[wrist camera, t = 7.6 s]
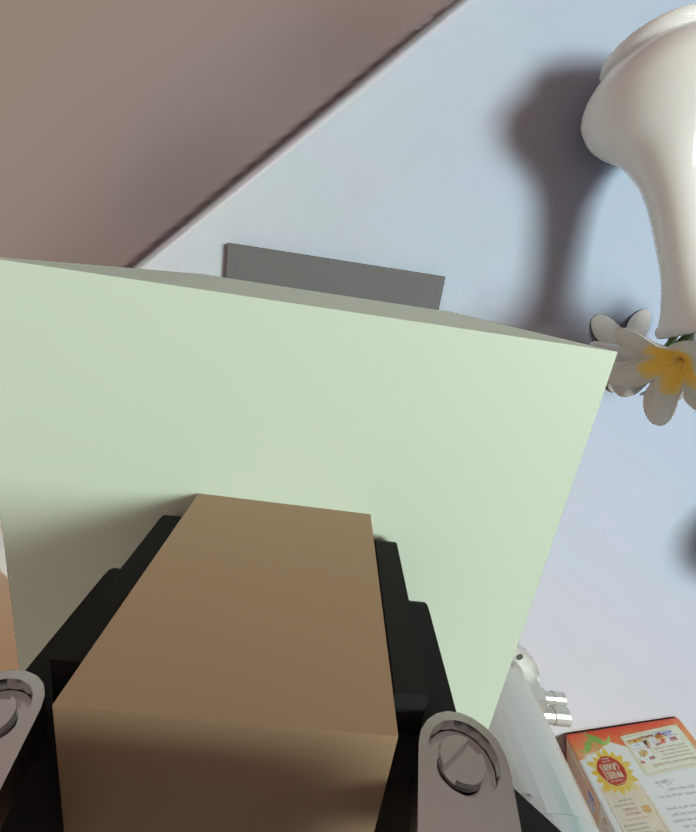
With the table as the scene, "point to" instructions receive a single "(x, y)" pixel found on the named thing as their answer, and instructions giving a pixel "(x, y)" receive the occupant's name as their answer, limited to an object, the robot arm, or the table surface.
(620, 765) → the cracker box
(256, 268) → the mat
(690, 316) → the flower vase
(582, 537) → the table surface
